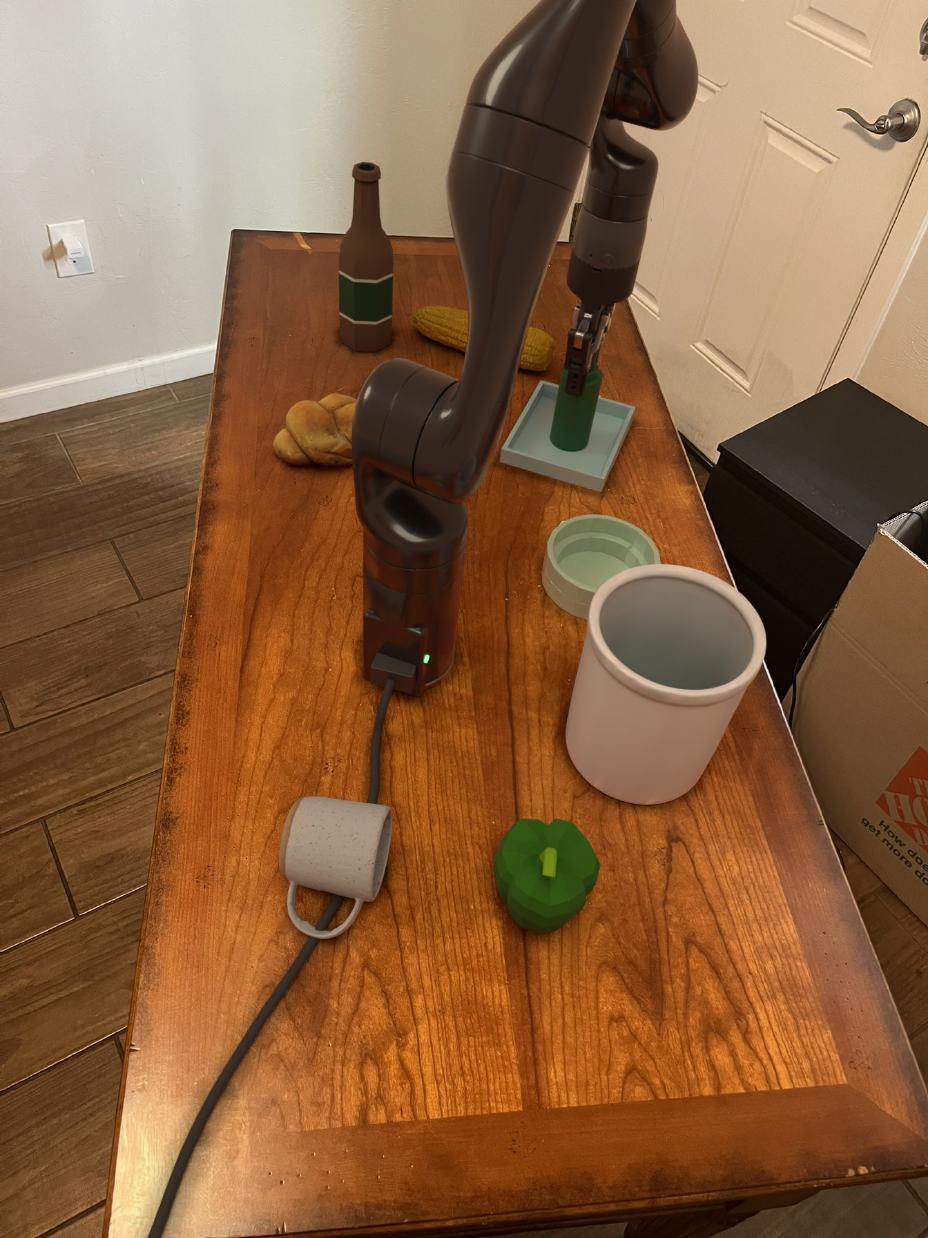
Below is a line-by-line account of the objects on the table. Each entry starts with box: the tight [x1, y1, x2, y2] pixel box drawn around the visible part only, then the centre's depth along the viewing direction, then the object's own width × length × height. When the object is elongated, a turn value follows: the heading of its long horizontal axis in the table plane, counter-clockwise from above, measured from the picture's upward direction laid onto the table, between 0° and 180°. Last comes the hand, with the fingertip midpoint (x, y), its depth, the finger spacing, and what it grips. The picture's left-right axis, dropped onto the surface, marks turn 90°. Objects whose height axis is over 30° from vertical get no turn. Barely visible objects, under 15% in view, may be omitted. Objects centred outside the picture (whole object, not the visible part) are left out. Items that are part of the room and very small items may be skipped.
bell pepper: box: [492, 818, 601, 935], centre depth 76 cm, size 8×8×10 cm
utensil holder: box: [565, 563, 767, 806], centre depth 85 cm, size 15×15×18 cm
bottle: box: [550, 350, 604, 452], centre depth 116 cm, size 5×5×14 cm
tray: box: [499, 379, 637, 493], centre depth 120 cm, size 16×13×3 cm
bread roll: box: [272, 392, 357, 467], centre depth 113 cm, size 13×10×8 cm
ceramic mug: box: [278, 795, 393, 940], centre depth 76 cm, size 11×8×8 cm
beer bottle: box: [338, 161, 394, 353], centre depth 125 cm, size 8×8×24 cm
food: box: [411, 305, 557, 372], centre depth 131 cm, size 21×6×6 cm, turn 68°
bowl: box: [541, 513, 662, 621], centre depth 103 cm, size 12×12×5 cm
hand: (580, 380), depth 114 cm, fingers closed on bottle, 5 cm apart
